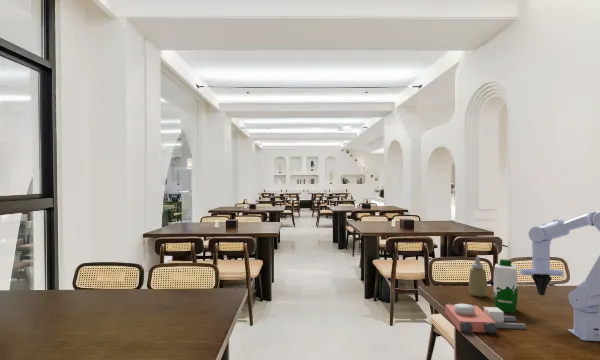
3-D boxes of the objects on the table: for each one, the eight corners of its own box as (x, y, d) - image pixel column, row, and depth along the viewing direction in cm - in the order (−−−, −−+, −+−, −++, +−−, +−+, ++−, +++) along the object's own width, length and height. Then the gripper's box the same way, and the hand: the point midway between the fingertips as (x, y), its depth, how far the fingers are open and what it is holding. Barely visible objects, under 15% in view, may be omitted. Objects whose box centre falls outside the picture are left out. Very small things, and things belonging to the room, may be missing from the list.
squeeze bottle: (464, 294, 190) (464, 255, 190) (477, 292, 193) (476, 254, 193) (478, 298, 182) (478, 258, 183) (491, 296, 186) (491, 257, 186)
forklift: (534, 335, 136) (534, 318, 136) (460, 332, 139) (460, 315, 139) (507, 314, 159) (507, 299, 159) (444, 312, 162) (444, 297, 162)
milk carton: (517, 308, 167) (517, 260, 168) (517, 314, 159) (517, 263, 160) (494, 305, 171) (493, 258, 172) (493, 311, 163) (492, 261, 164)
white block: (503, 326, 145) (503, 312, 145) (481, 325, 146) (481, 311, 146) (497, 320, 151) (497, 307, 151) (476, 319, 152) (476, 306, 152)
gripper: (555, 257, 155) (556, 292, 155) (516, 256, 157) (516, 291, 156) (565, 260, 148) (566, 297, 148) (524, 259, 150) (524, 296, 149)
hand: (541, 294), depth 152 cm, fingers closed
